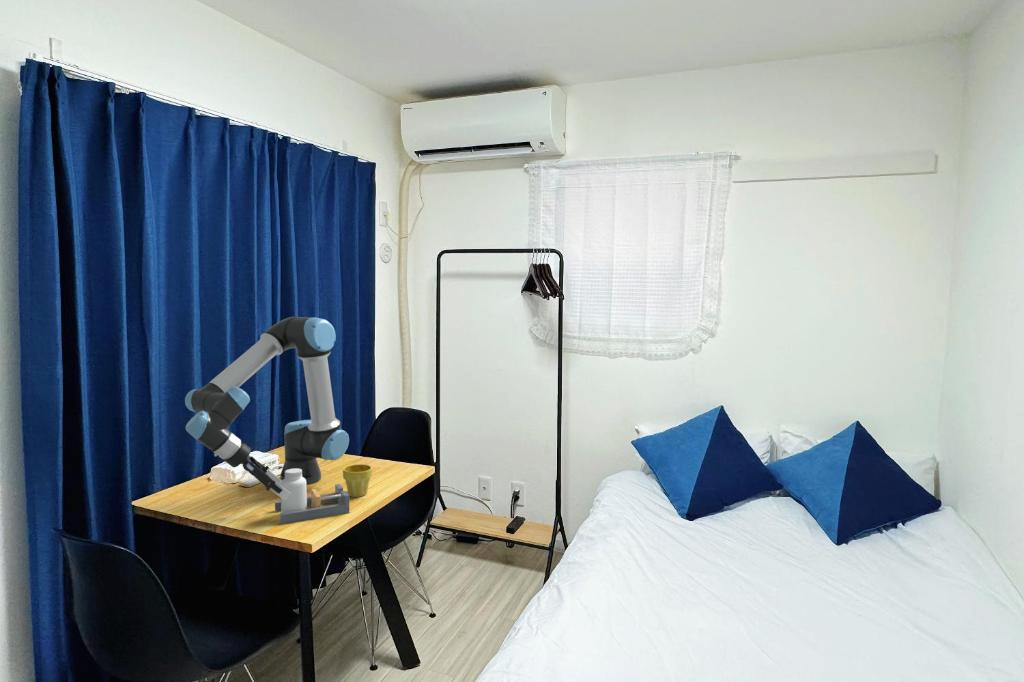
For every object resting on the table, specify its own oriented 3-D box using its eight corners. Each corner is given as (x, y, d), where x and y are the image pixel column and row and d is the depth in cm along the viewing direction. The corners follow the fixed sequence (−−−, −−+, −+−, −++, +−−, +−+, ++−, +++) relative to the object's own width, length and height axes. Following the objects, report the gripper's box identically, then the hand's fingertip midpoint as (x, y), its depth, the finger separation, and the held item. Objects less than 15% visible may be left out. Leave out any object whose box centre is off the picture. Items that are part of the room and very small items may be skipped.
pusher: (316, 514, 194) (316, 497, 194) (311, 506, 202) (311, 489, 201) (347, 509, 199) (348, 492, 199) (341, 501, 207) (341, 484, 206)
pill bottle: (285, 510, 198) (284, 467, 197) (309, 510, 199) (309, 466, 197) (277, 519, 190) (277, 474, 189) (303, 519, 191) (303, 474, 190)
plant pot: (339, 498, 210) (339, 472, 210) (347, 489, 221) (347, 463, 220) (368, 499, 211) (368, 472, 210) (374, 489, 221) (374, 464, 220)
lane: (281, 524, 187) (281, 505, 186) (274, 510, 198) (274, 493, 197) (349, 512, 197) (349, 495, 197) (339, 500, 209) (339, 483, 208)
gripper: (219, 450, 193) (269, 488, 201) (227, 470, 171) (282, 512, 180) (237, 432, 195) (285, 471, 204) (247, 451, 174) (300, 493, 183)
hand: (284, 490), depth 192 cm, fingers open, 13 cm apart
